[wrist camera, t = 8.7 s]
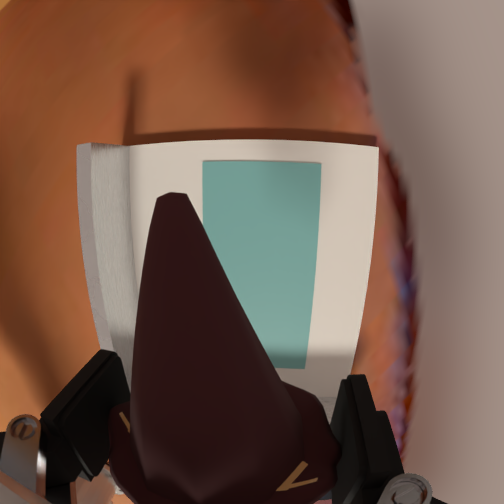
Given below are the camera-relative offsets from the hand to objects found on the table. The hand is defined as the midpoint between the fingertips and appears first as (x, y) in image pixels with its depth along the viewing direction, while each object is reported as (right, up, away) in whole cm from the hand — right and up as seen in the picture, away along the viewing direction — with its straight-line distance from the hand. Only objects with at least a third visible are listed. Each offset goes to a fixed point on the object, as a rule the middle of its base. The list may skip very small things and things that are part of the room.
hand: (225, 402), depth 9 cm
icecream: (0, 0, +2) cm, 2 cm away
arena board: (0, +2, +14) cm, 14 cm away
